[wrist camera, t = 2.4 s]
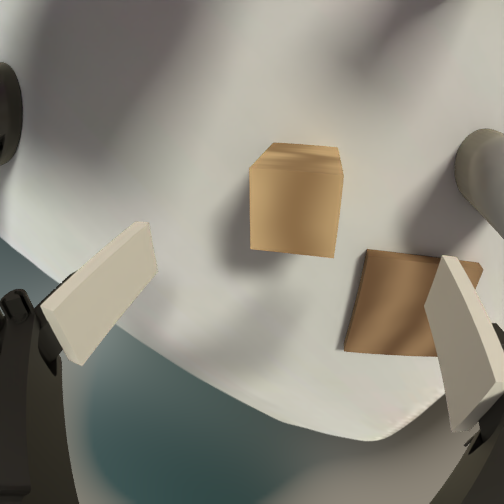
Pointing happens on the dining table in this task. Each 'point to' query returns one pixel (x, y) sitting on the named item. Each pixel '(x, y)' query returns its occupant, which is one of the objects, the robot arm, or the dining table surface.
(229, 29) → the dining table surface
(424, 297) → the walnut board
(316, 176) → the oak block
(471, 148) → the grey dome cap
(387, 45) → the dining table surface
